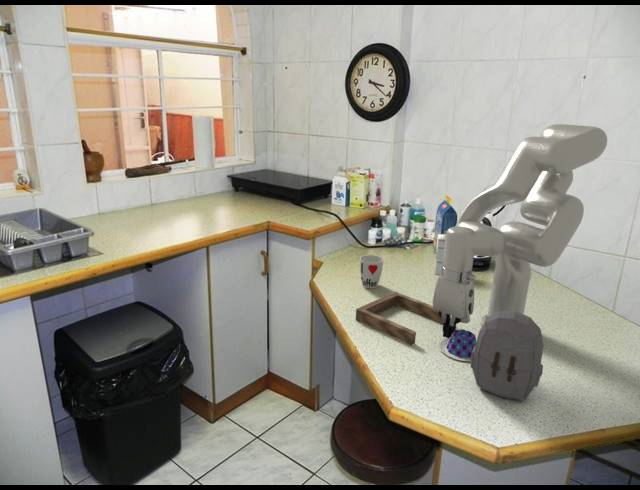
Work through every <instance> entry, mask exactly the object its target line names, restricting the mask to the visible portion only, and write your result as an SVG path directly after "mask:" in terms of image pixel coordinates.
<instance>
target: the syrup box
mask: <svg viewBox="0 0 640 490" xmlns="http://www.w3.org/2000/svg"><path fill="white" fill-rule="evenodd" d="M445 238H446V234H438V239H437V248H436V254H435V260H434V261H435V262H434V275H438V276H439V275H441V273H442V264H443V255H444V247H445Z"/></svg>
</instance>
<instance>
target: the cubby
mask: <svg viewBox="0 0 640 490" xmlns="http://www.w3.org/2000/svg"><path fill="white" fill-rule="evenodd" d="M396 306H398V307H401V308H404V309H405V310H408V311H411V312H413V313H415V314H417V315H420V316H423V317H425V318H427V319H430V320H433V321H434V322H438V323H441V324H442V325H443V322H442V318H441V317H440V315H439V314H438V313H436V312H435V311H434V310H433V304H432V305H431V304H429V303H426V302H423V301H421V300H418V299H415V298H413V297H410V296H407V295H406V294H402V293H400V292H396V291H394V292H392V293H390V294H387V295H384V296H383V297H381V298H378V299H376V300H374V301H372V302H369V303H367V304H364V305H361V306H360V307H358V308H356V310H355V311H356V312H355V321H358V322H360V323H362V324H364V325H367V326H368V327H371V328H373V329H376V330H377V331H379V332H382V333H384V334H386V335H389V336H390V337H393V338H395V339H397V340H399V341H401V342H403V343H406V344H408V345H410V346H413V345H415V344H416V336H417V332H416V331H415V330H412V329H410V328H408V327H406V326H403V325H401V324H399V323H397V322H394V321H392V320H389V319H387V318H385V317H383V316H381V315H378V314H381V313H383V312H385V311H387V310H390V309H391V308H393V307H396Z"/></svg>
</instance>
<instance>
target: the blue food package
mask: <svg viewBox="0 0 640 490" xmlns="http://www.w3.org/2000/svg"><path fill="white" fill-rule="evenodd" d="M457 221H458V213H457V211H456V210H455V208H454V207H453V198H451V197H450V195H448V194H447V193H445V198H444V199H443V201H442V202H441V203H440V204H439V205H438V206H437V208H436V214H435V221H434V222H435V223H434V232H433V233H434V234H433V240H432V251H433V250H434V251H433V252H434V254H435V255H436V248H437V239H438V234H446V232H447V230H448V229H449V228H451V227H455V226H456V224H457Z"/></svg>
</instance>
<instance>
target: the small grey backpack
mask: <svg viewBox="0 0 640 490" xmlns="http://www.w3.org/2000/svg"><path fill="white" fill-rule="evenodd" d="M526 315H527V314H525V313H524V314H522V313H519V312H517V311H500V312H498V313H496V314H494V315H491V316H489V317H487V318H486V319H485V322H484V324H483V325H481V328H480V329H479V331H478V334H477V337H476V346H475V347H474V348H473V351H472V354H471V355H472V356H471V358H470V360H471V361H470V368H471V369H472V373H473V376H474V379H475V384H476V385H477V386H478V387H479V388H481V389H482V390H483V391H486V392H489V393H491V394H493V395H497V396H498V397H502V398H507V399H510V400H516V401H517V400H518V401H524V400H527V398H528V397H529V396H530V395H531V393H532V391H533V390H534V389H535V388H536V387H538V386H539V382H540V380H541V377H542V376H543V372H544V371H543V370H544V365H543V364H542V359H543V352H544V351H543V350H544V346H545V345H544V341H543V337H542V336H543V335H542V329H541V327H540V326H539V325H538V324H537V323H536V322H535V321H534V320H533V319H532V318H531V316H528V315H527V316H526Z"/></svg>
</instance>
